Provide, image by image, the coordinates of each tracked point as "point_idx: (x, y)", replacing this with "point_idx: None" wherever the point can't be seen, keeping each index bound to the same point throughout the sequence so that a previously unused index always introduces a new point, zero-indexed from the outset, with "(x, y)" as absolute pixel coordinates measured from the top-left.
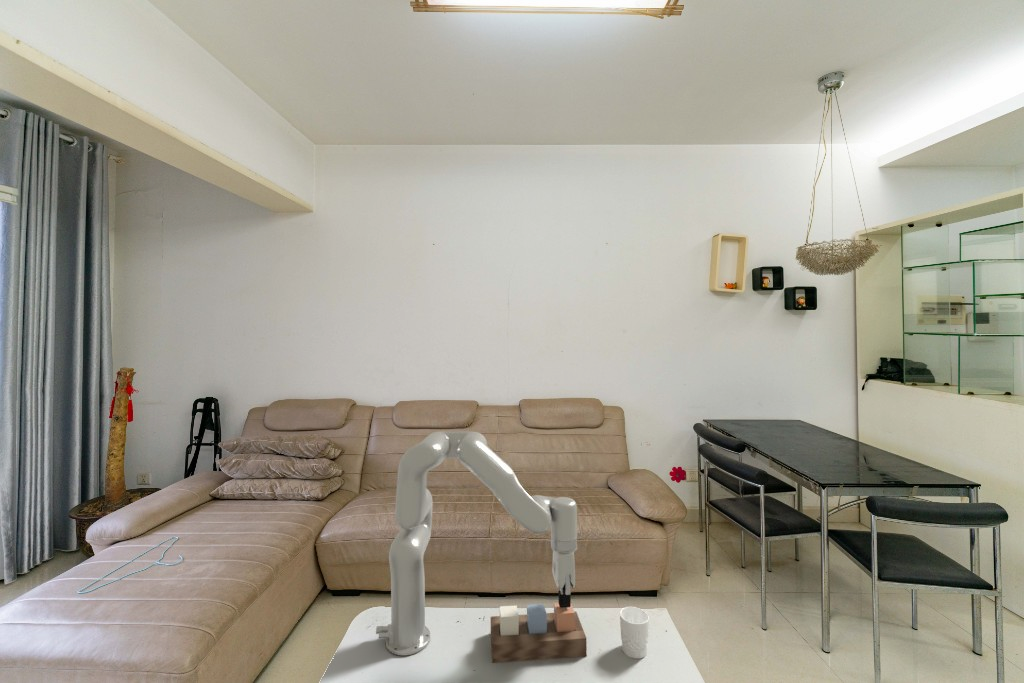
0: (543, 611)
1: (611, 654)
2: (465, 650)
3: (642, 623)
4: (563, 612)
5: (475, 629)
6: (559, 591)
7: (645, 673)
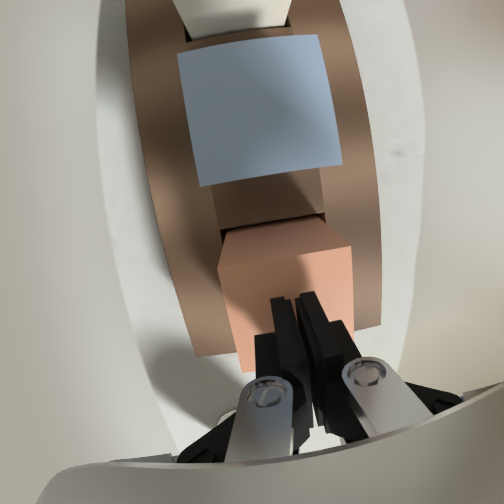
0: (237, 159)
1: (226, 383)
2: None
3: None
4: (238, 312)
5: None
6: (329, 363)
7: (171, 429)
